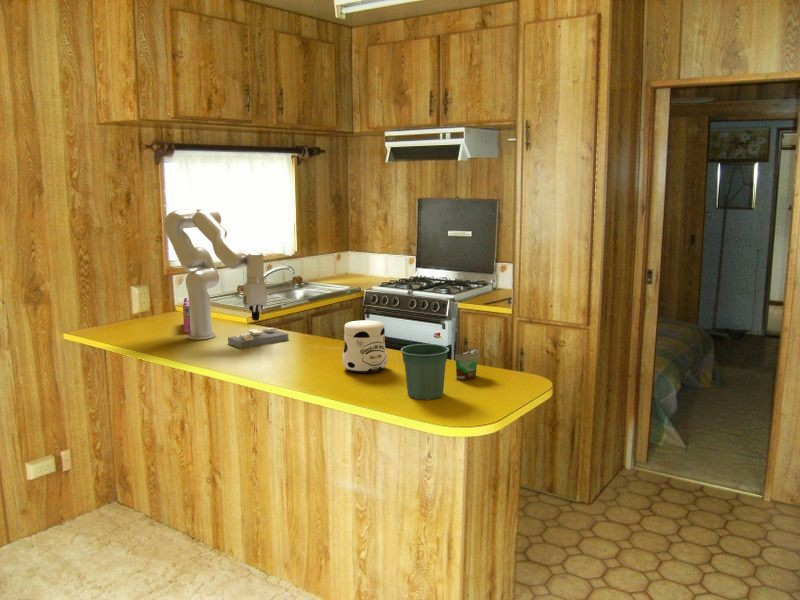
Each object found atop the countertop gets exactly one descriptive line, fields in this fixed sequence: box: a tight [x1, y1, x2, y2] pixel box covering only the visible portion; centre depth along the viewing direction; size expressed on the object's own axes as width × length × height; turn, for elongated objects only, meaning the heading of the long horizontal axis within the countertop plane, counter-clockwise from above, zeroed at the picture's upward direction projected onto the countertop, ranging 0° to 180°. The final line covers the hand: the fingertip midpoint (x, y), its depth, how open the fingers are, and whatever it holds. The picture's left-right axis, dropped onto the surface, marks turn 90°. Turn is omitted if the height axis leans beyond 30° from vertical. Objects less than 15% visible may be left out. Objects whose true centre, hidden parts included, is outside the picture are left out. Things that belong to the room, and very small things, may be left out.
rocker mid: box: [247, 328, 263, 335], centre depth 324 cm, size 6×4×2 cm, turn 40°
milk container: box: [341, 320, 388, 374], centre depth 274 cm, size 17×17×18 cm
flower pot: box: [400, 343, 450, 401], centre depth 242 cm, size 16×16×16 cm
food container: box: [454, 347, 480, 382], centre depth 262 cm, size 12×6×10 cm, turn 148°
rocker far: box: [262, 327, 277, 332], centre depth 329 cm, size 6×4×2 cm, turn 40°
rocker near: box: [239, 332, 254, 341], centre depth 315 cm, size 6×4×2 cm, turn 40°
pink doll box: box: [182, 297, 191, 334], centre depth 353 cm, size 24×8×14 cm, turn 15°
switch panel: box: [227, 329, 289, 350], centre depth 322 cm, size 12×24×3 cm, turn 130°
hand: (255, 320), depth 321 cm, fingers closed
